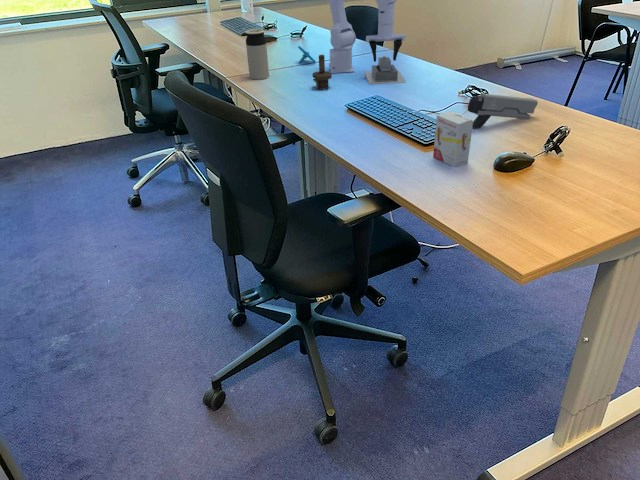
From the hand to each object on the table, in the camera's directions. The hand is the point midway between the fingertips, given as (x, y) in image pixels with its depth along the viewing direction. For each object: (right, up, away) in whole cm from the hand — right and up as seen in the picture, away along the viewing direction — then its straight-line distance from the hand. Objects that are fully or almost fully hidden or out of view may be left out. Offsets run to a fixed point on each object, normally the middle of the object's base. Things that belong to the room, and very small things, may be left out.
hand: (384, 60), depth 201 cm
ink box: (+9, -49, -64) cm, 82 cm away
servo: (0, -5, +3) cm, 6 cm away
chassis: (0, -6, +4) cm, 7 cm away
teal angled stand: (-31, +9, +28) cm, 43 cm away
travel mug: (-50, -3, +11) cm, 51 cm away
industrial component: (-24, -12, -4) cm, 27 cm away
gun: (+30, -34, -43) cm, 63 cm away
